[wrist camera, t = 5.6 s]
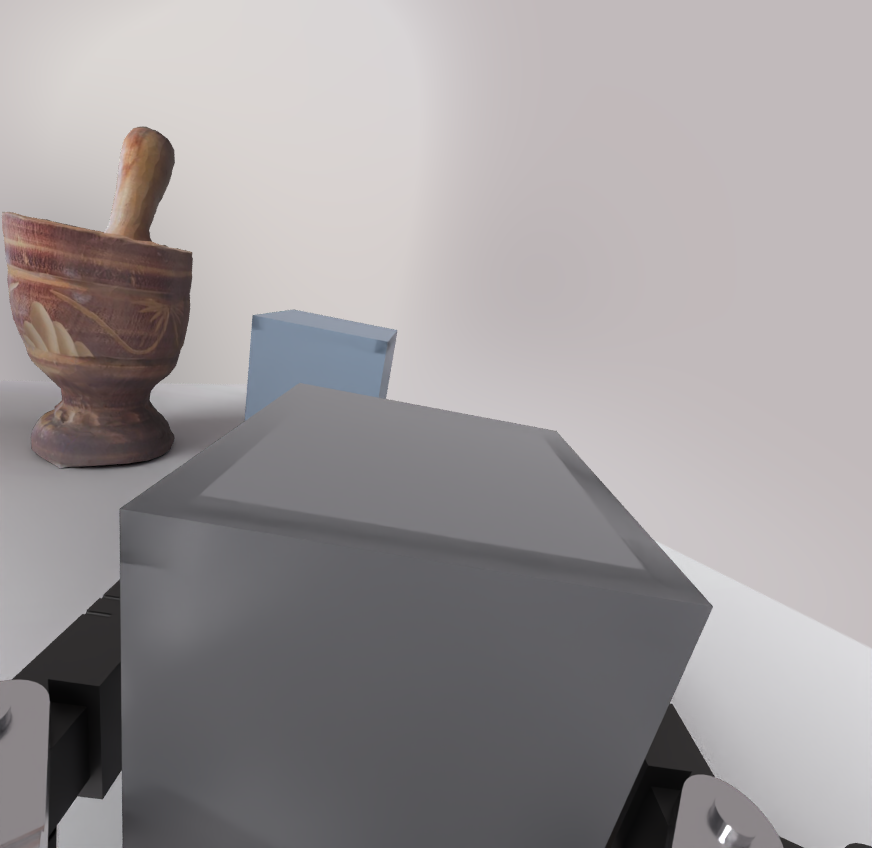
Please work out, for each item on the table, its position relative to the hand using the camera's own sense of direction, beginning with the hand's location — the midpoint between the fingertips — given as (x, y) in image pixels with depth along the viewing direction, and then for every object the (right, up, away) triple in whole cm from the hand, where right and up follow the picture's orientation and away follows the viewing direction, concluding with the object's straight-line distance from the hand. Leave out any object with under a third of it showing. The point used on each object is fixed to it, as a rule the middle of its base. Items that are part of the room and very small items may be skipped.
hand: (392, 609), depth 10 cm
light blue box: (-6, -1, +15) cm, 17 cm away
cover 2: (-1, -7, 0) cm, 7 cm away
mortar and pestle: (-21, +3, +20) cm, 29 cm away
